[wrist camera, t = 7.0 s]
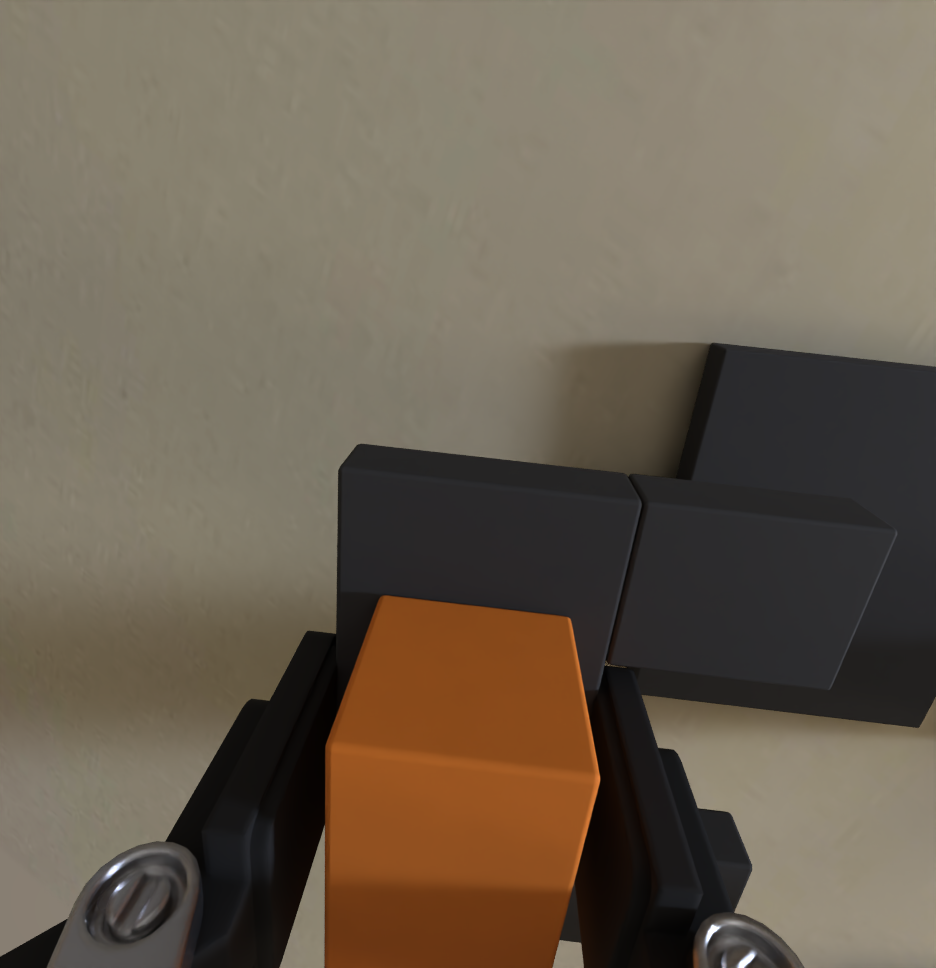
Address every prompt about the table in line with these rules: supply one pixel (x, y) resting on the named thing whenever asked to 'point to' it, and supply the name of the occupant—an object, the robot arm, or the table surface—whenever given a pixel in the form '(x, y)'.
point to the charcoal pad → (840, 473)
